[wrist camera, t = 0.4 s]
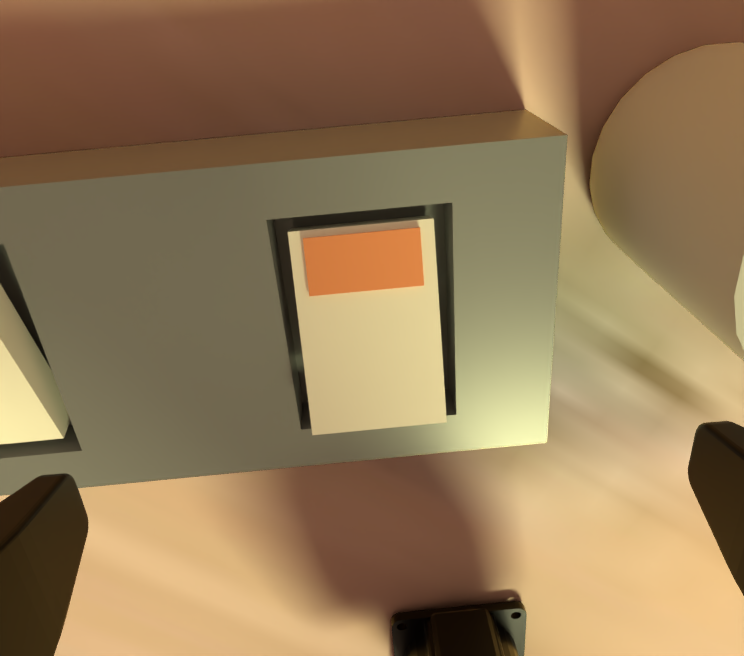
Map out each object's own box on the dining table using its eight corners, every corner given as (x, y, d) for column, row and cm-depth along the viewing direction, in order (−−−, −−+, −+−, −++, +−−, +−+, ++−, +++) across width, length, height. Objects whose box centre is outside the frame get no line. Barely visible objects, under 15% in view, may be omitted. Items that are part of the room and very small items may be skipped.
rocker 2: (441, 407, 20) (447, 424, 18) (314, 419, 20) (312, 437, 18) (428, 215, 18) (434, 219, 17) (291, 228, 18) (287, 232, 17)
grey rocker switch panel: (516, 377, 24) (546, 442, 21) (-78, 434, 24) (-148, 510, 21) (525, 109, 20) (567, 134, 16) (-213, 177, 19) (-334, 217, 16)
